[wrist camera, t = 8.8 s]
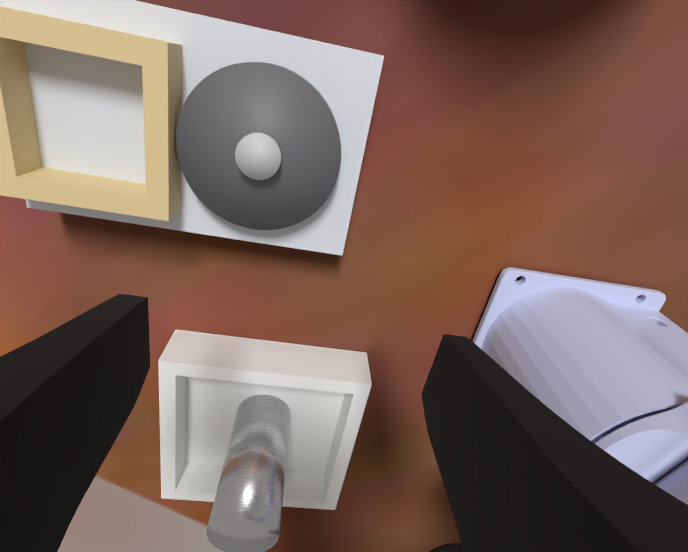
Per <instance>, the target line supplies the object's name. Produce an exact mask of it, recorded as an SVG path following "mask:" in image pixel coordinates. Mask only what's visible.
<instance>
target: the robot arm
mask: <svg viewBox="0 0 688 552" xmlns="http://www.w3.org/2000/svg"><path fill="white" fill-rule="evenodd" d="M519 276H522V278H521V279H520V280H519V281H516V279H517V277H519ZM638 296H639V297H638ZM637 297H638V298H637ZM636 298H637V299H636ZM665 300H666V296H665V295H664V294H663V293H662V292H660V291H658V290H652V289H646V288H639V287H633V286H627V285H620V284H614V283H608V282H601V281H595V280H589V279H582V278H576V277H570V276H563V275H557V274H551V273H544V272H538V271H532V270H525V269H519V268H513V267H510V268H506V269H504V270H503V271H502V272H501V273H500V275H499V278H498V280H497V282H496V285H495V287H494V290H493V292H492V294H491V297H490V299H489V302H488V304H487V307H486V309H485V311H484V314H483V316H482V319H481V321H480V324H479V326H478V328H477V331H476V333H475V336H474V338H473V340H472V341H471V340H469V339H468V338H467V337H461V336H453V335H445V334H444V335H443V338H442V340H441V343H440V346H439V348H438V351H437V354H436V356H435V359H434V362H433V364H432V367H431V370H430V372H429V375H428V378H427V381H426V383H425V386H424V389H423V391H422V400H423V407H424V414H425V419H426V425H427V430H428V434H429V437H430V441H431V444H432V447H433V450H434V454H435V457H436V460H437V464H438V467H439V470H440V473H441V476H442V480H443V483H444V486H445V489H446V492H447V496H448V499H449V502H450V505H451V508H452V512H453V515H454V518H455V521H456V525H457V529H458V533H459V536H460V540H461V545H462V549H463V552H688V333H687V332H685V331H684V330H683V329H681V328H680V327H679V326H677V325H676V324H675V323H673V322H672V321H671V320H669V319H668V318H667V317H665V316H664V315H663V314H661V313H660V312H659V310H660V309H661V307H662V305H663V304H664V302H665ZM149 368H150V349H149V321H148V297H140V296H132V295H124V294H119V295H117V296H115V297H112V298H110V299H109V300H107V301H105V302H103V303H101V304H99V305H97V306H96V307H94V308H92V309H90V310H88V311H87V312H85V313H83V314H81V315H79V316H78V317H76V318H74V319H72V320H70V321H69V322H67V323H65V324H63V325H61V326H59V327H58V328H56V329H54V330H52V331H50V332H48V333H46V334H45V335H43V336H41V337H39V338H37V339H35V340H33V341H31V342H29V343H27V344H25V345H23V346H21V347H19V348H17V349H15V350H13V351H11V352H9V353H7V354H5V355H3V356H1V357H0V552H57V551H58V549H59V547H60V544H61V542H62V540H63V537H64V535H65V533H66V531H67V528H68V526H69V524H70V522H71V520H72V518H73V516H74V514H75V512H76V510H77V508H78V506H79V504H80V502H81V500H82V498H83V497H84V495H85V493H86V491H87V490H88V488H89V486H90V484H91V482H92V481H93V479H94V477H95V475H96V474H97V472H98V470H99V468H100V466H101V465H102V463H103V461H104V459H105V458H106V456H107V454H108V452H109V450H110V449H111V447H112V445H113V443H114V442H115V440H116V438H117V436H118V434H119V433H120V431H121V429H122V427H123V425H124V424H125V422H126V420H127V418H128V416H129V415H130V413H131V411H132V409H133V407H134V405H135V403H136V401H137V398H138V396H139V393H140V391H141V389H142V386H143V383H144V381H145V378H146V376H147V373H148V371H149Z"/></svg>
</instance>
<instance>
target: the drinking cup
mask: <svg viewBox="0 0 688 552" xmlns="http://www.w3.org/2000/svg"><path fill="white" fill-rule="evenodd" d="M430 552H463V549H462V545H461V544H450V545H444V546H441V547H438V548H436V549H434V550H432V551H430Z"/></svg>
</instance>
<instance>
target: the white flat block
mask: <svg viewBox="0 0 688 552" xmlns="http://www.w3.org/2000/svg"><path fill="white" fill-rule="evenodd" d="M383 59H384V56H382V55H378V54H373V53H369V52H364V51H360V50H355V49H351V48H346V47H342V46H337V45H333V44H328V43H324V42H319V41H315V40H310V39H306V38H301V37H297V36H292V35H288V34H283V33H279V32H274V31H270V30H265V29H261V28H257V27H252V26H248V25H243V24H239V23H234V22H230V21H225V20H221V19H216V18H212V17H207V16H203V15H198V14H194V13H189V12H185V11H180V10H176V9H171V8H167V7H162V6H158V5H153V4H149V3H144V2H140V1H135V0H0V195H3V196H10V197H16V198H23V199H26V204H27V207H28V208H34V209H41V210H47V211H54V212H60V213H67V214H73V215H80V216H86V217H93V218H100V219H106V220H113V221H119V222H126V223H132V224H139V225H145V226H152V227H158V228H165V229H172V230H178V231H185V232H191V233H198V234H204V235H211V236H217V237H224V238H230V239H237V240H243V241H250V242H257V243H263V244H270V245H276V246H283V247H289V248H296V249H302V250H309V251H315V252H322V253H329V254H335V255H343V250H344V245H345V241H346V236H347V231H348V226H349V221H350V217H351V212H352V207H353V202H354V198H355V193H356V188H357V183H358V178H359V174H360V169H361V164H362V159H363V155H364V150H365V145H366V140H367V135H368V131H369V126H370V121H371V116H372V111H373V107H374V102H375V97H376V92H377V88H378V83H379V78H380V73H381V68H382V64H383Z"/></svg>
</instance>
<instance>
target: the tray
mask: <svg viewBox="0 0 688 552" xmlns="http://www.w3.org/2000/svg"><path fill="white" fill-rule="evenodd" d="M158 362H159V408H160V455H161V498H165V499H180V500H195V501H209V502H214V500H215V496H216V492H217V488H218V484H219V480H220V476H221V472H222V468H223V464H224V460H225V456H226V452H227V448H228V444H229V440H230V437H231V433H232V429H233V425H234V421H235V417H236V413H237V409H238V407H239V405H240V404H241V402H243V401H244V400H245V399H247V398H249V397H251V396H254V395H271V396H274V397H277V398H279V399H281V400H282V401H284V402H285V403H286V404H287V406H288V407H289V409H290V412H291V419H290V430H289V440H288V451H287V461H286V472H285V482H284V493H283V503H282V506H283V507H298V508H313V509H328V510H335V509H336V505H337V502H338V498H339V495H340V492H341V488H342V485H343V481H344V478H345V474H346V471H347V468H348V464H349V461H350V457H351V454H352V450H353V447H354V444H355V440H356V437H357V433H358V430H359V427H360V423H361V420H362V416H363V413H364V409H365V406H366V403H367V399H368V396H369V392H370V389H371V385H372V383H371V376H370V370H369V364H368V358H367V353H366V352H357V351H349V350H341V349H333V348H324V347H316V346H308V345H300V344H291V343H283V342H275V341H267V340H258V339H250V338H242V337H234V336H226V335H217V334H209V333H201V332H193V331H184V330H176V329H175V331H174V333H173V335H172V337H171V338H170V340H169V342H168V344H167V346H166V348H165V350H164V352H163V353H162V355H161V357H160V359H159V361H158Z"/></svg>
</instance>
